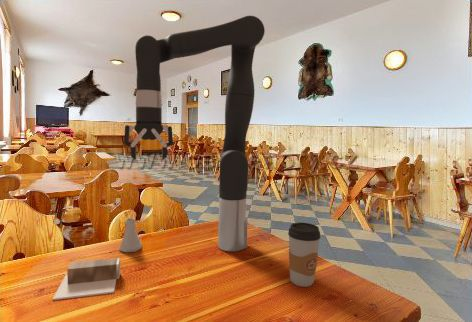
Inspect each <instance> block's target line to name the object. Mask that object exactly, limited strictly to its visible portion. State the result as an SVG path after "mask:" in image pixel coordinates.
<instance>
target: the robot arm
mask: <svg viewBox="0 0 472 322" xmlns="http://www.w3.org/2000/svg"><path fill="white" fill-rule="evenodd" d="M264 25H265V24H264V22H263V21H262V20H261V19H260V18H259V17H257V16H254V15H245V16H243V17H240V18H237V19H235V20H232V21H231V20H230V21H228V22H226V23H223V24H218V25H215V26H214V25H213V26H210V27H205V28H201V29H200V28H199V29H194V30H188V31H187V30H186V31H182V32H177V33H175V32H174V33H171V34H169V35H168V36H167V37H165V38H160V39H156V38H155V37H154V36H152V35H147V34H145V35H142V36H140V37H139V38H138V39H137V41H136V43H135V47H134V48H135V49H134V53H135V65H136V95H135V125H129V124H127V125H125V126H124V138H123V139H124V140H123V141H124V142H123V144H124V145H125V146H128V147H130V157H131V159H133V161H135V160H137V147H136V145H137V144H138V143H139V142H140V140H143V141H148V140H151V141H155V140H158V142H159V143H160V144H161V146H162V147H161V159H162V160H166V159H167V157H168V147H170V146H173V145H174V139H173V138H174V137H173V127H172V126H171V125H170V126H169V125H168V126H163V124H162V113H163V111H162V108H163V107H162V106H163V103H162V93H161V91H162V90H161V89H162V87H161V86H162V81H161V72H160V70H161V68H160V67H161V63H165V62H168V61H171V60H173V59H180V58H185V57H191V56H192V57H193V56H197V55H201V54H204V53H206V52H209V51H212V50H215V49H219V48H223V47H226V46H227V47H229V46H230V47H231V48H230V50H231V51H230V52H231V53H230V54H231V55H230V56H231V57H230V58H231V60H230V69H229V75H228V80H227V88H226V95H225V104H224V106H225V107H224V125H225V126H224V129H225V130H224V139H223V140H224V141H223V145H222V151H221V155H220V158H219V185H218V186H219V187H218V189H219V190H218V227H217V230H218V231H217V232H218V233H217V234H218V236H217V237H218V238H217V242H218V243H217V244H218V245H217V247H218V249H220V250H221V251H225V252H240V251H242V250H244V249H247V248H248V227H249V226H248V224H249V223H248V220H247V217H246V216H247V192H248V184H249V183H248V182H249V181H248V180H249V160H248V158H247V156H246V142H247V141H246V140H247V133H248V130H249V126H250V123H251V119H252V115H253V111H254V110H253V108H254V103H255V101H254V100H255V82H254V76H253V75H254V74H253V62H254V56H255V50H256V47H257V46H258V45H259V44H260V43H261V41H262V40H263V38H264V35H265V31H266V30H265V26H264ZM133 130H134V131H135V132H136V134H137V136H136V138H134V139H133V141H130V134H131V133H132V132H133ZM163 131H164V133H165V134H167V142H166V141H164V139H163V138H162V137H161V133H162V132H163ZM165 158H166V159H165Z"/></svg>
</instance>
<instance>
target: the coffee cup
mask: <svg viewBox="0 0 472 322" xmlns="http://www.w3.org/2000/svg"><path fill="white" fill-rule="evenodd" d="M287 234H288V259H289V261H288V262H289V264H288V265H289V279H290V282H291V283H292V284H293V285H295V286H297V287H298V286H299V287H301V288H302V287H305V288H306V287H312V285H313V284H314V282H315V278H316V277H315V276H316V271H317V265H318V264H317V263H318V259H319V257H318V256H319V253H318V252H319V246H320V239H321V231H320V228H319V226H317V225H315V224H313V223H308V222H294V223H291V225H290V226H289V228H288V232H287Z"/></svg>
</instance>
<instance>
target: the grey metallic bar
mask: <svg viewBox="0 0 472 322" xmlns="http://www.w3.org/2000/svg"><path fill="white" fill-rule="evenodd" d="M66 271H67V272H66V274H67V277H68V284H77V283H86V282H95V281H104V280H113V279H117V280H119V279H120V276H121V257H116V258H115V257H114V258H104V259H103V258H102V259H93V260H91V259H90V260H81V261H72V262H70V263H69V265H68V267H67V268H66Z"/></svg>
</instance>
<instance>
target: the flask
mask: <svg viewBox="0 0 472 322" xmlns="http://www.w3.org/2000/svg"><path fill="white" fill-rule="evenodd" d="M124 222H125V231H124V235H123V238H122V240H121V243H120V245H119V249H118V251H119V252H123V253H133V252H134V253H135V252H137V251H139V250H141V249H142V247H143V244H142V242H141V240H140V238H139V235H138V232H137V229H136V225H135V222H136V218H135V217H130V218H129V217H127V218H125V219H124Z"/></svg>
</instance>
